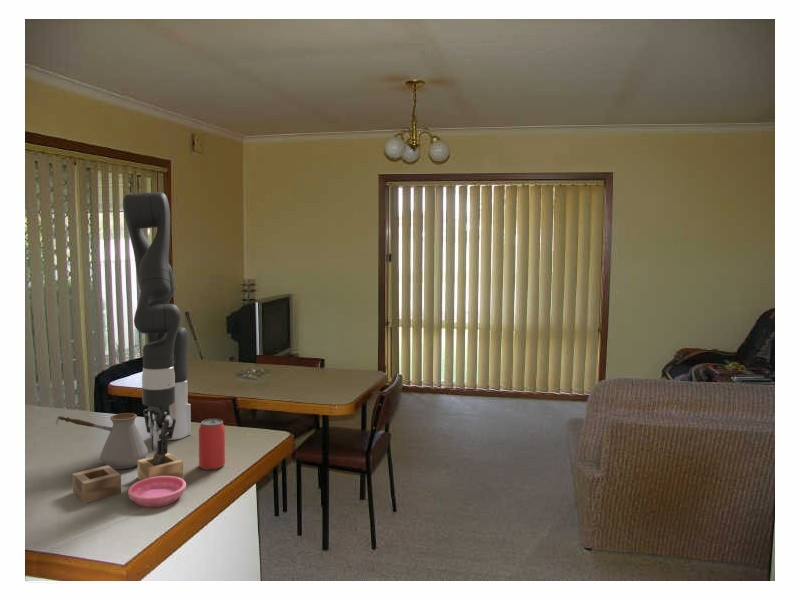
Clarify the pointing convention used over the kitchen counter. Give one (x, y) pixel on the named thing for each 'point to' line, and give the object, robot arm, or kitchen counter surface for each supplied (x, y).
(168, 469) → the oak block
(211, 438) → the beer can
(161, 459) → the pin
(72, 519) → the kitchen counter surface
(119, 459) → the coffee pot
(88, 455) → the kitchen counter surface
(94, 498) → the walnut block
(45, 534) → the kitchen counter surface
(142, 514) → the kitchen counter surface
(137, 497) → the saucer
